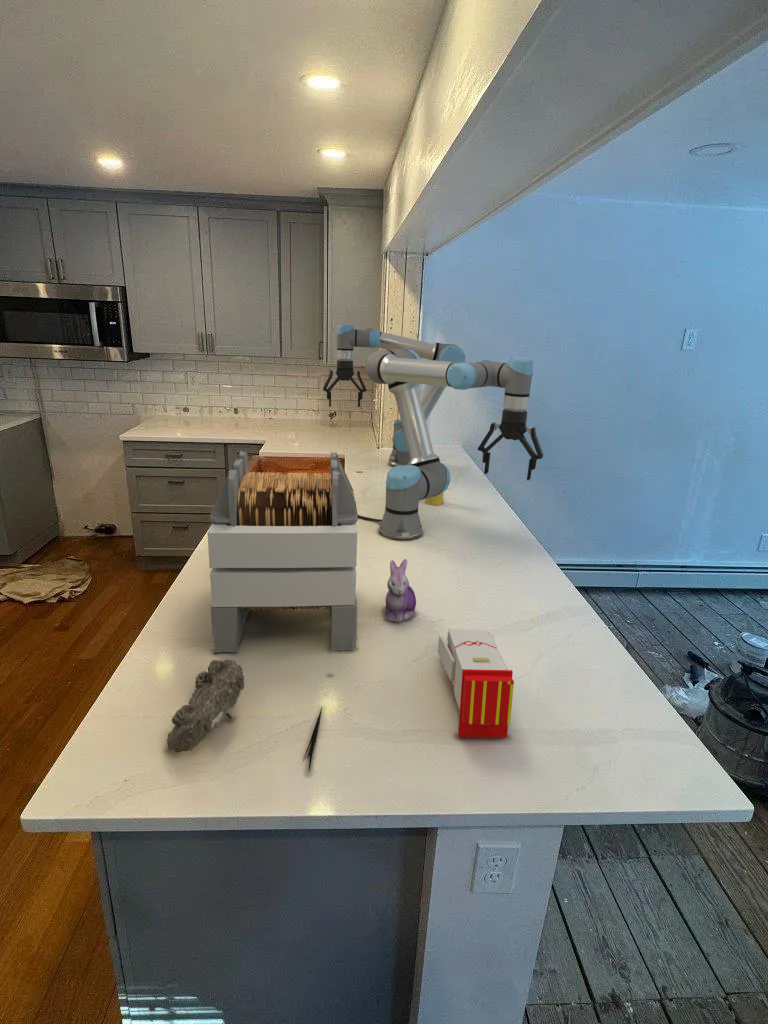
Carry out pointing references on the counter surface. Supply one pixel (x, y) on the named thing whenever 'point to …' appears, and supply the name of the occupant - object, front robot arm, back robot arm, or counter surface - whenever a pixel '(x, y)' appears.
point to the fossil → (206, 705)
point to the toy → (478, 682)
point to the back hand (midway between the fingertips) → (344, 406)
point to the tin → (435, 500)
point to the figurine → (399, 594)
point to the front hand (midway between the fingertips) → (507, 476)
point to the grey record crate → (283, 549)
